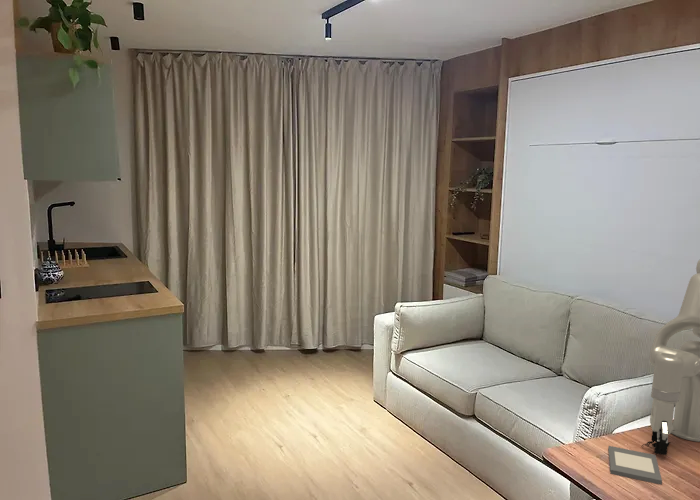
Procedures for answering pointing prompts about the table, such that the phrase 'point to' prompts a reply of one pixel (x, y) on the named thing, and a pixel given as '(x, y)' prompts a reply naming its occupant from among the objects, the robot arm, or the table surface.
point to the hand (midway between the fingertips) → (658, 447)
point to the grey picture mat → (634, 465)
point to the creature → (652, 444)
